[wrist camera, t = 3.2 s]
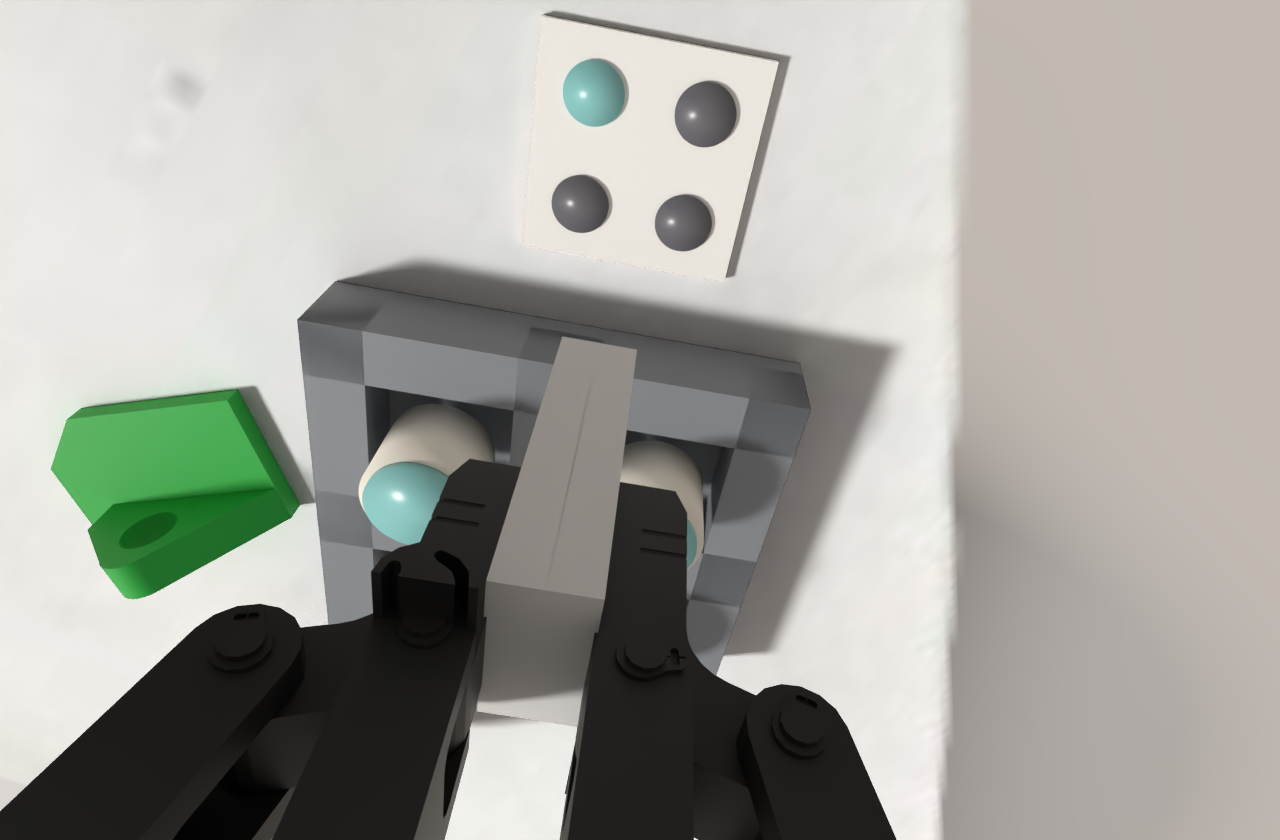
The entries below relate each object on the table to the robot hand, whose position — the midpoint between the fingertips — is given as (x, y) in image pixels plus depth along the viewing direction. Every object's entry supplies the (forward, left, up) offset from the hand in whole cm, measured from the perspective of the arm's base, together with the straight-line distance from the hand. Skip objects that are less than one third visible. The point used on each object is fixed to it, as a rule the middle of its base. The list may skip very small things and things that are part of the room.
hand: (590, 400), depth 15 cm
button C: (+14, -7, -15) cm, 22 cm away
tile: (0, 0, -18) cm, 18 cm away
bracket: (+21, -23, -19) cm, 36 cm away
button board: (+19, -2, -18) cm, 26 cm away
